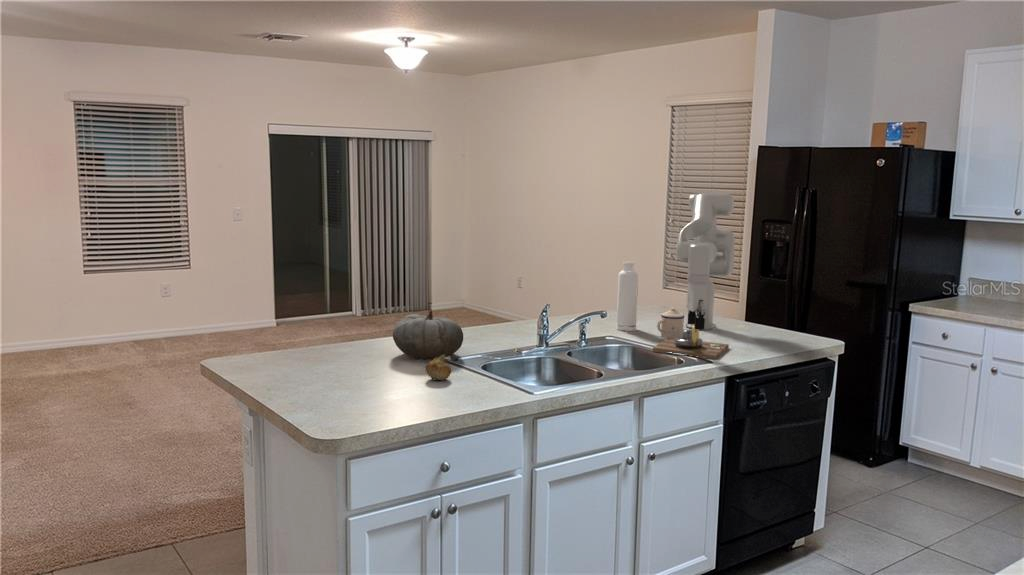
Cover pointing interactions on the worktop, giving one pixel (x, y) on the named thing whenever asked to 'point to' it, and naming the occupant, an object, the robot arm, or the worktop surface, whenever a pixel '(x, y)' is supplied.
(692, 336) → the capstan
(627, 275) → the bottle
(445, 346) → the gourd
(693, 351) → the level stand
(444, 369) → the onion
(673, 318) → the teacup with lid
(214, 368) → the worktop surface
